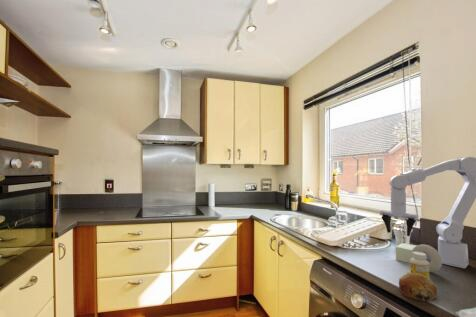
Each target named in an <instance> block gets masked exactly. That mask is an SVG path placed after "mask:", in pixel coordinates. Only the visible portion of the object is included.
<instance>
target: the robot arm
mask: <svg viewBox="0 0 476 317" xmlns="http://www.w3.org/2000/svg"><path fill="white" fill-rule="evenodd" d="M446 171H455V172H457V173H458V174H459V175H460V176H461V177H462V179H463V181H464V184H463V186H462V188H461V189H460V192H459V194H458V195H457V198H456V199H455V201H454V203H453V205H452V207H451V208H450V211H449V213H448V215H447V216H445V217H444V218H443V219H442V221H441V222H440V223H438V224H437V225H436V227H435V231H436V233H437V235H439V236H438V238H437V252H438V253H439V254H440V256H441V258H442V265H447V266H452V267H456V268H461V269H466V268H467V267H468V266H469V249H468V247H469V246H468V244H467V243H463V242H461V240H462V238H463V236H464V235H463V230H464V228H465V225H464V222H465V219H466V218H467V215H468V214H469V212H470V210H471V208H472V206H473V204H474V203H475V200H476V157H474V156H466V157H457V158H453V159H449V160H445V161H442V162H440V163H437V164H435V165H432V166H430V167H429V166H428V167H425V168H424V169H421V168H419V167H417V168H415V167H413V168H411V170H409V171H407V172H400V173H399V175H393V176H391V177H390V180H389V182H388V183H389V185H390V210H389V211H388V210H379V216H381V219H382V221H383V223H384V225H385V228H386V232H387V233H389V234H390V233H392V231H391V230H392V228H391V227H392V226H391V223H392V222H391V221H392V218H393V217H394V218H400V219H401V218H403V219H406V220H405V222H406V223H407V236H410V237H411V235H410V234H412V232H411V230H412V229H413V227H414V225H415V223H416V222H417V221H418V220H419V214H413V213H408V212H407V193H406V188H407V186H408V187H409V186H412V185H414V184H418V183H422V182H424V181H426V178H427V177H429V176H434V175H437V174H439V173H443V172H446ZM402 216H403V217H402Z"/></svg>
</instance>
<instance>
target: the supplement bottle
mask: <svg viewBox="0 0 476 317" xmlns="http://www.w3.org/2000/svg"><path fill="white" fill-rule="evenodd" d="M412 256H413V258H411V259H410V263H409V264H410V272H409V273H419V274H422V275H423V276H425V277H427V278H429V279H430V272H429V261H428V260H427V259H428V257H426V254H425V253H422V252H412ZM426 258H427V259H426Z"/></svg>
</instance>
